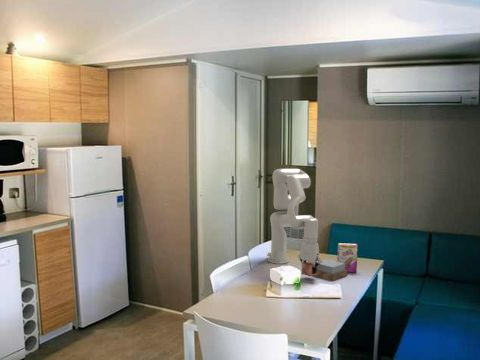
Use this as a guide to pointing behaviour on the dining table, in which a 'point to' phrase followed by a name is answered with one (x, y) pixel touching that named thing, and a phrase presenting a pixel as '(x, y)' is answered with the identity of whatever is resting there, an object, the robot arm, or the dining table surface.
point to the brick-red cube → (307, 268)
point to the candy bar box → (348, 256)
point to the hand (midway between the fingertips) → (309, 271)
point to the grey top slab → (331, 266)
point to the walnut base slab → (331, 275)
